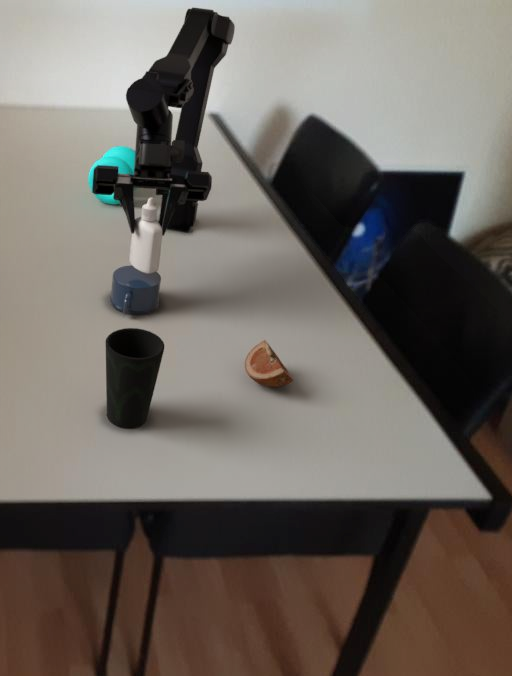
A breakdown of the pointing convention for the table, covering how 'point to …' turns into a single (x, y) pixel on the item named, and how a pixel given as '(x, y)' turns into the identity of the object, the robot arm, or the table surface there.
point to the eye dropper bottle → (146, 240)
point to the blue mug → (135, 291)
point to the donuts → (115, 157)
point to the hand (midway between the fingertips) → (147, 233)
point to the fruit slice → (266, 366)
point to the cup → (131, 375)
